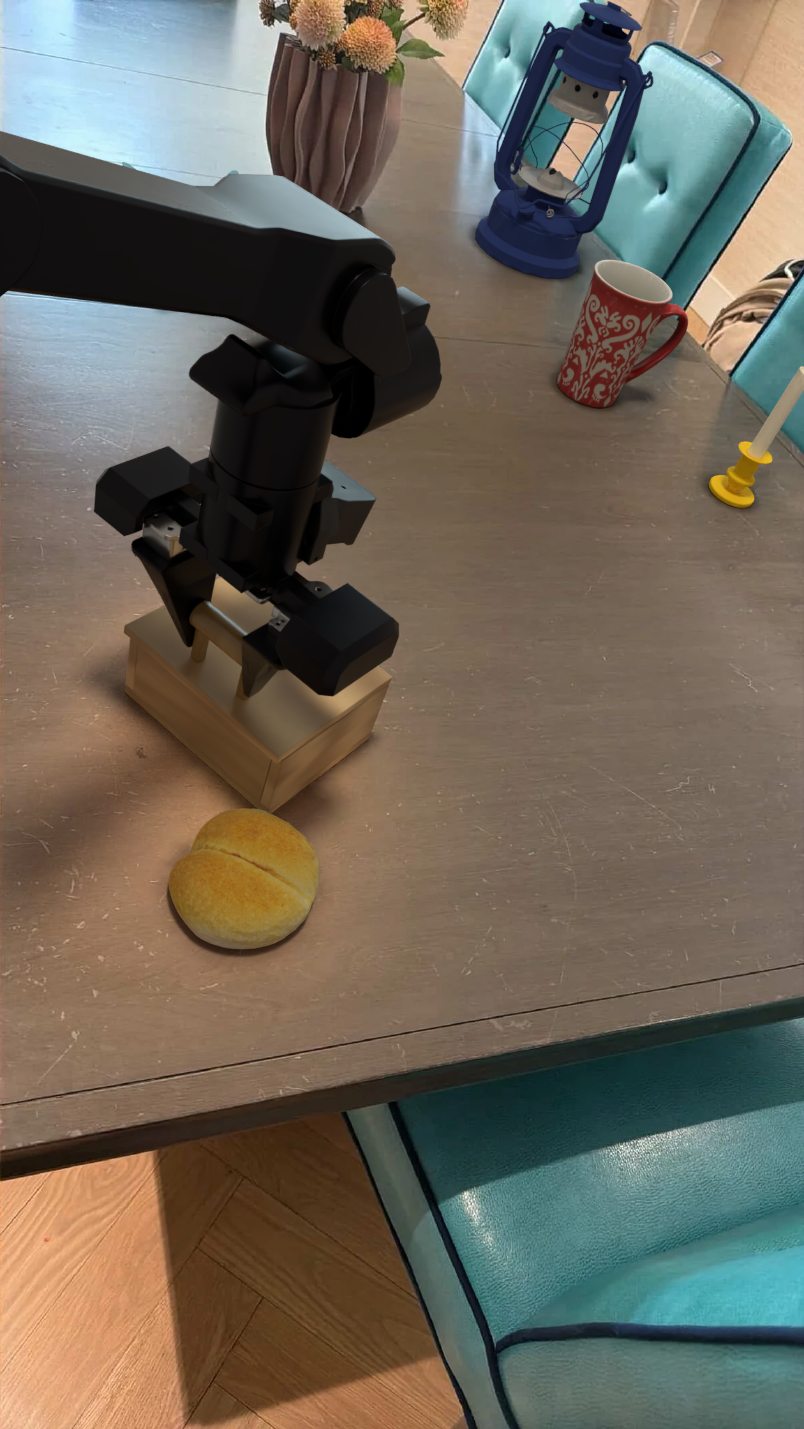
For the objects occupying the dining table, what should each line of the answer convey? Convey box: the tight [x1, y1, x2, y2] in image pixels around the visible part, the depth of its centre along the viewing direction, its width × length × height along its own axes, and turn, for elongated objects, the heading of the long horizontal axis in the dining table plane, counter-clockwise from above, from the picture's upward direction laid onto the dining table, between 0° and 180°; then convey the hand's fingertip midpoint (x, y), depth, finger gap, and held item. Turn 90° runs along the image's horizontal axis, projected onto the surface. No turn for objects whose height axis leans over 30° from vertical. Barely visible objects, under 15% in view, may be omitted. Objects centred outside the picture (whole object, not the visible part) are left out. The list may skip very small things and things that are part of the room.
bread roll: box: [168, 807, 320, 950], centre depth 59 cm, size 8×9×4 cm
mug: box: [556, 259, 689, 408], centre depth 112 cm, size 13×9×14 cm
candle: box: [708, 365, 804, 509], centre depth 104 cm, size 5×5×16 cm
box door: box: [123, 576, 393, 763], centre depth 63 cm, size 11×14×5 cm
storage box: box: [124, 638, 390, 814], centre depth 67 cm, size 11×14×6 cm
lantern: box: [474, 0, 655, 280], centre depth 129 cm, size 17×15×30 cm
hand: (222, 668), depth 62 cm, fingers closed on box door, 5 cm apart
